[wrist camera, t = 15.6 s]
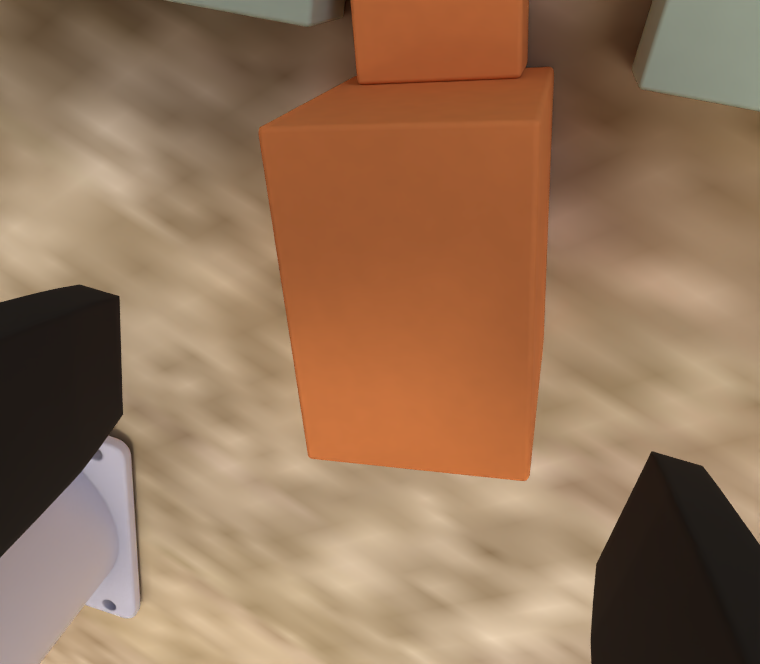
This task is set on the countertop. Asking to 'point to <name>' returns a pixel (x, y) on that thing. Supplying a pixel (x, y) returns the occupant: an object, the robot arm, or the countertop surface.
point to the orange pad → (419, 240)
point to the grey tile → (654, 54)
